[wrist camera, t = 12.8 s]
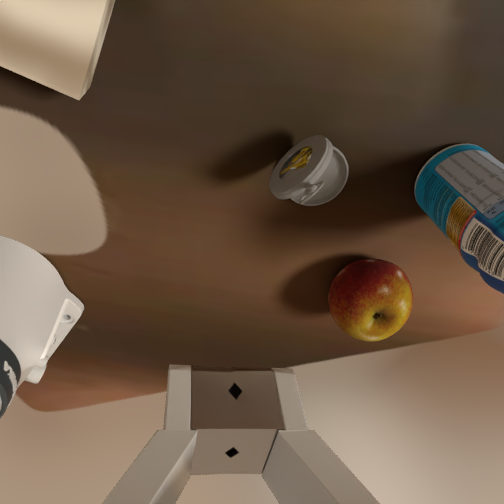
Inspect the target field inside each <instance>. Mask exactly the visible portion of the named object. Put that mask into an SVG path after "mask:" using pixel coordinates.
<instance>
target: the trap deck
mask: <svg viewBox="0 0 504 504" xmlns="http://www.w3.org/2000/svg"><path fill="white" fill-rule="evenodd" d="M114 2H115V0H0V66H1V67H4V68H6V69H8V70H11V71H13V72H15V73H17V74H20V75H22V76H24V77H27V78H29V79H31V80H33V81H36V82H38V83H40V84H43V85H45V86H47V87H49V88H52V89H54V90H56V91H59V92H61V93H63V94H66V95H68V96H70V97H72V98H75V99H77V100H80V98H81V97H82V96H83V95H84V94H85V92H86V91H87V90H88V89H89V88H90V86H91V82H92V79H93V75H94V72H95V68H96V65H97V61H98V58H99V54H100V51H101V47H102V44H103V41H104V37H105V34H106V30H107V27H108V23H109V20H110V16H111V13H112V9H113V6H114Z"/></svg>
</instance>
